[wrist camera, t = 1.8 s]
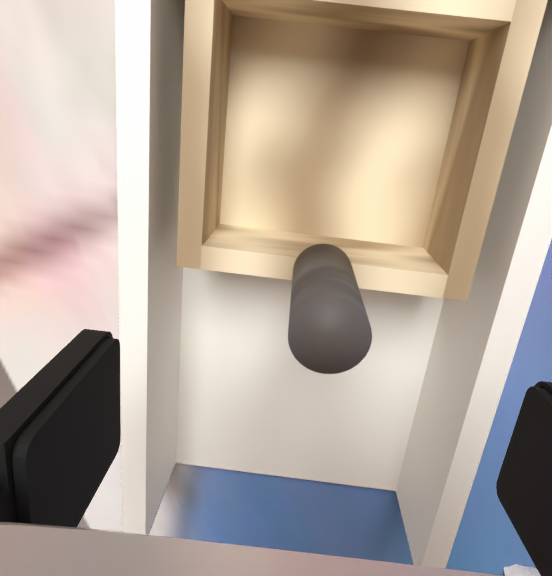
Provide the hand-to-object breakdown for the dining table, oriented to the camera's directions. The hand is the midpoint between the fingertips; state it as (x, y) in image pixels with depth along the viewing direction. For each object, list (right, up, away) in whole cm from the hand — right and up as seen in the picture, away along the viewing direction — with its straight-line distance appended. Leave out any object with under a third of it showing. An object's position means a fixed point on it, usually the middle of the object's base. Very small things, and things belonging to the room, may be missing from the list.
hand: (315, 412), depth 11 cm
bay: (+1, +4, +15) cm, 16 cm away
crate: (+2, +9, +11) cm, 15 cm away
